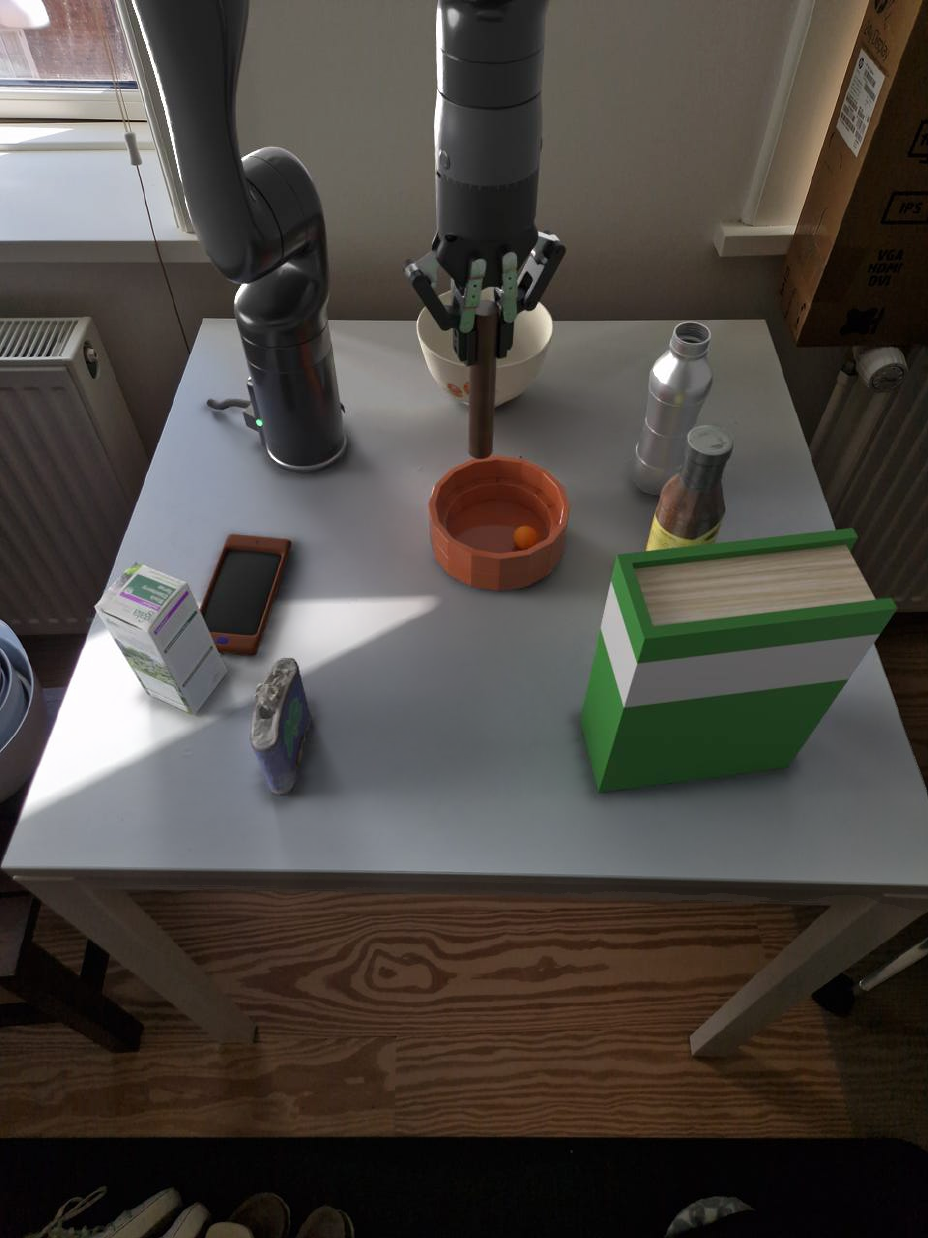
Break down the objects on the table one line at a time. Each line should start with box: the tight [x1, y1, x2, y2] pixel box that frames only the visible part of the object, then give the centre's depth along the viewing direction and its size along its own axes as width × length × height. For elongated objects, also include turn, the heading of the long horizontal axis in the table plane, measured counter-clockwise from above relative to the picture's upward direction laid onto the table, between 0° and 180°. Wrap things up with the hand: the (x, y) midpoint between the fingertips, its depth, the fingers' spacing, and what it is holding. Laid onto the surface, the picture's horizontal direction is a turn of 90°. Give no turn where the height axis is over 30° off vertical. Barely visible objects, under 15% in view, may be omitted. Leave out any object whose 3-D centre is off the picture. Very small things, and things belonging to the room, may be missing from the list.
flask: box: [249, 657, 312, 796], centre depth 74 cm, size 9×3×11 cm, turn 173°
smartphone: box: [199, 533, 292, 657], centre depth 88 cm, size 7×1×15 cm
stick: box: [467, 299, 499, 459], centre depth 77 cm, size 2×2×16 cm
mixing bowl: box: [428, 454, 571, 592], centre depth 91 cm, size 14×14×6 cm
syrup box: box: [94, 561, 227, 716], centre depth 77 cm, size 6×6×14 cm
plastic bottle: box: [629, 321, 714, 496], centre depth 90 cm, size 6×7×20 cm
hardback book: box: [579, 527, 898, 794], centre depth 69 cm, size 18×7×24 cm, turn 98°
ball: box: [513, 526, 537, 550], centre depth 91 cm, size 3×3×3 cm
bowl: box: [416, 287, 555, 408], centre depth 104 cm, size 16×16×10 cm
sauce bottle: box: [645, 425, 734, 551], centre depth 81 cm, size 6×6×20 cm
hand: (482, 356), depth 75 cm, fingers closed on stick, 2 cm apart
